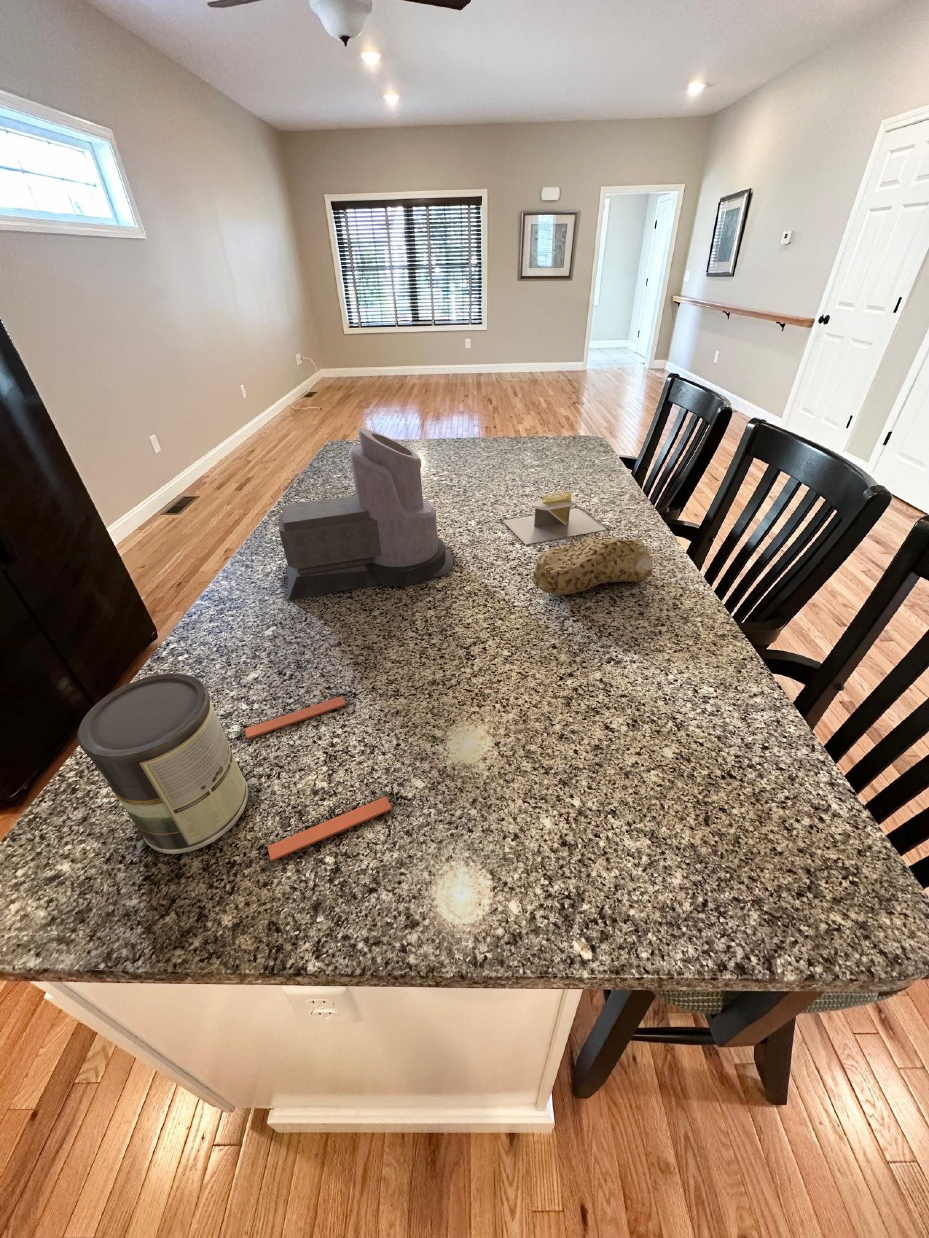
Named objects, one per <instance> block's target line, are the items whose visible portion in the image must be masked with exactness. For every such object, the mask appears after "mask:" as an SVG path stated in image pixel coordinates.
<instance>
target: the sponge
mask: <svg viewBox="0 0 929 1238" xmlns="http://www.w3.org/2000/svg"><path fill="white" fill-rule="evenodd" d="M534 565H535V568H534V571H533V573H532V575H533V580H532V583H533V584H534V586H535V587H537V588H538V589H539V590H541V591H542V592H545V593H550V594H552V595H555V596H561V595H573V594H577V593H578V592H579V593H581V592H584V591H587V590H590V588H594V587H596V586H598V585H600V584H608V583H617V582H629V583H638V582H641V581H645V580H646V579H647V578H649V577H650V576H651V575H652V574H653V557H651V555H650V553H649V550H648V549H647V548H646V547H645V544H644V542H643V541H641V540H639V539H637V538H632V539H631V538H630V539H625V538H618V537H611V538H610V537H609V538H608V537H607V538H599V539H589V540H584V541H577V542H573V543H570V544H567V545H561V546H553V547H552V548H549V549H548V550H546V551H545V552H543V553H541V555H539V556H538V560H536V563H535V564H534Z"/></svg>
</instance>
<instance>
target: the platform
mask: <svg viewBox="0 0 929 1238" xmlns="http://www.w3.org/2000/svg"><path fill="white" fill-rule="evenodd" d="M541 496H542V498H541V499H539V500H535V501H534V500H533V501H530V502H529V506H530V508H532V509H534V514H533V515H528V516H522V517H516V518H510V519H504V520H502V522H503V523H504V525H506V526H507V527H508V528H509V529H510V530H511V531H512V533H514V535H516V536H517V537H518V539H519V540H521V541H522V543H523V544H524V545H529V544H530V545H531V544H537V543H542V542H547V541H553V540H558V539H563V538H570V537H574V536H579V535H585V534H590V533H596V532H602V531H606V530H607V528H606V527H604V526H603V525H602V524H601V523H599V522H597V521H596V520H595V519H593V518H592V517H591V516H589V515H588V514H587V513H586V512H584V511H583V510H582V509H581V508H578V507H576V508H571V507H574V506H577V497H576V496H574V495H573V494H572V493H571V492H570V491H569V490H567V491H560V492H553V493H548V494H542V495H541Z"/></svg>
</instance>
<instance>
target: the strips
mask: <svg viewBox="0 0 929 1238" xmlns="http://www.w3.org/2000/svg"><path fill="white" fill-rule="evenodd" d="M346 705H347V703H346V701H345V699H344V696H343V695H340V696H337V697H334V698H332V699H329V700H325V701H323V702H320V703H316V704H313V705H311V706H308V707H305V708H301V709H299V710H296V711H293V712H289V713H287V714H285V715H281V716H278V717H276V718H272V719H270V720H266V721H264V722H260V723H258V724H255V725H254V724H253V725H252V726H249V727H245V728H244V732H245V736H246V739H247V740H249V739H252V738H255V737H257V736H262V735H263V734H266V733H270V732H272V731H276V730H278V729H281V728H283V727H287V726H289V725H292V724H295V723H299V722H301V721H304V720H307V719H309V718H312V717H315V716H319V715H321V714H324V713H327V712H330V711H333V710H336V709H339V708H342V707H344V706H345V707H346ZM392 810H393V809H392V806H391V804H390V802H389V799H388V797H387V796H384V797H381V798H379V799H376V800H374V801H372V802H369V803H367V804H364V805H363V806H360V807H358V808H355V809H353V810H351V811H347V812H345V813H343V814H341V815H338V816H336V817H333V818H332V819H328V820H327V821H324V822H322V823H319V824H317V825H314V826H312V827H310V828H307V829H305V830H303V831H300V832H298V833H295V834H293V835H291V836H289V837H285V838H284V839H281V840H279V841H276V842H274V843H272V844H269V845H267V851H268V856H269V861H270V862H274V861H276V860H279V859H281V858H284V857H286V856H288V855H290V854H293V853H295V852H297V851H299V850H302V849H305V848H307V847H309V846H311V845H313V844H316V843H318V842H320V841H323V840H325V839H327V838H330V837H332V836H334V835H337V834H339V833H342V832H344V831H346V830H348V829H350V828H353V827H355V826H358V825H360V824H362V823H364V822H367V821H370V820H372V819H373V818H376V817H378V816H381V815H383V814H385V813H388V812H390V811H392Z"/></svg>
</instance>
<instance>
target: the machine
mask: <svg viewBox="0 0 929 1238" xmlns="http://www.w3.org/2000/svg"><path fill="white" fill-rule="evenodd" d="M357 432H358V439H359V445H355V446H352V447H350V449H349V450H348V451H349V458H350V464H351V471H352V477H353V483H354V490H355V495H349V496H342V497H335V498H327V499H319V500H313V501H305V502H298V503H291V504H290V503H289V504H283V505H282V512H281V513H279V514H278V532H279V536H280V540H281V544H282V548H283V553H284V557H285V560H286V563H287V567H286V575H287V576H286V578H287V600H288V601H291V600H297V599H301V598H303V599H304V598H308V597H314V596H318V595H325V594H331V593H337V592H342V591H347V590H348V591H349V590H352V589H358V588H363V587H371V586H376V585H381V586H389V587H404V586H411V585H416V584H420V583H423V582H426V581H428V580H431V579H433V578H435V577H436V578H437V577H440V576H441V577H442V576H446V575H448V574H449V572H450V571H451V569H452V568H453V565H454V558H453V555H452V553H450V551H449V550H448V549H447V548H446V544H445V542H444V540H443V539H442V538H440V537H439V536H438V523H437V511H436V509H435V507H434V506H433V505H432V504H431V503H430V502H429V501H428V500H427V499H425V498H424V497H423V496H424V495H423V486H422V473H421V468H422V459H421V458H420V456H419V455H418V454H417V453H416V452H415V451H414V450H412V449H410V448H409V447H407V446H405V445H404V444H401V443H400V442H398V441H396V440H394V439H393V438H390V437H388V436H386V435H384V434H381V433H379V432H376V431H374V430H370V429H368V428H364V427H363V428H362V427H361V428H359V429H358V431H357Z"/></svg>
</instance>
